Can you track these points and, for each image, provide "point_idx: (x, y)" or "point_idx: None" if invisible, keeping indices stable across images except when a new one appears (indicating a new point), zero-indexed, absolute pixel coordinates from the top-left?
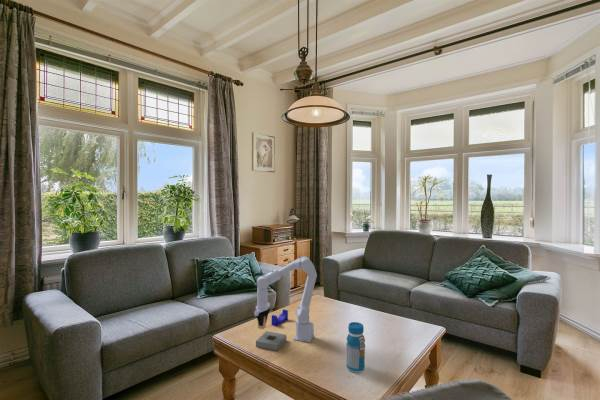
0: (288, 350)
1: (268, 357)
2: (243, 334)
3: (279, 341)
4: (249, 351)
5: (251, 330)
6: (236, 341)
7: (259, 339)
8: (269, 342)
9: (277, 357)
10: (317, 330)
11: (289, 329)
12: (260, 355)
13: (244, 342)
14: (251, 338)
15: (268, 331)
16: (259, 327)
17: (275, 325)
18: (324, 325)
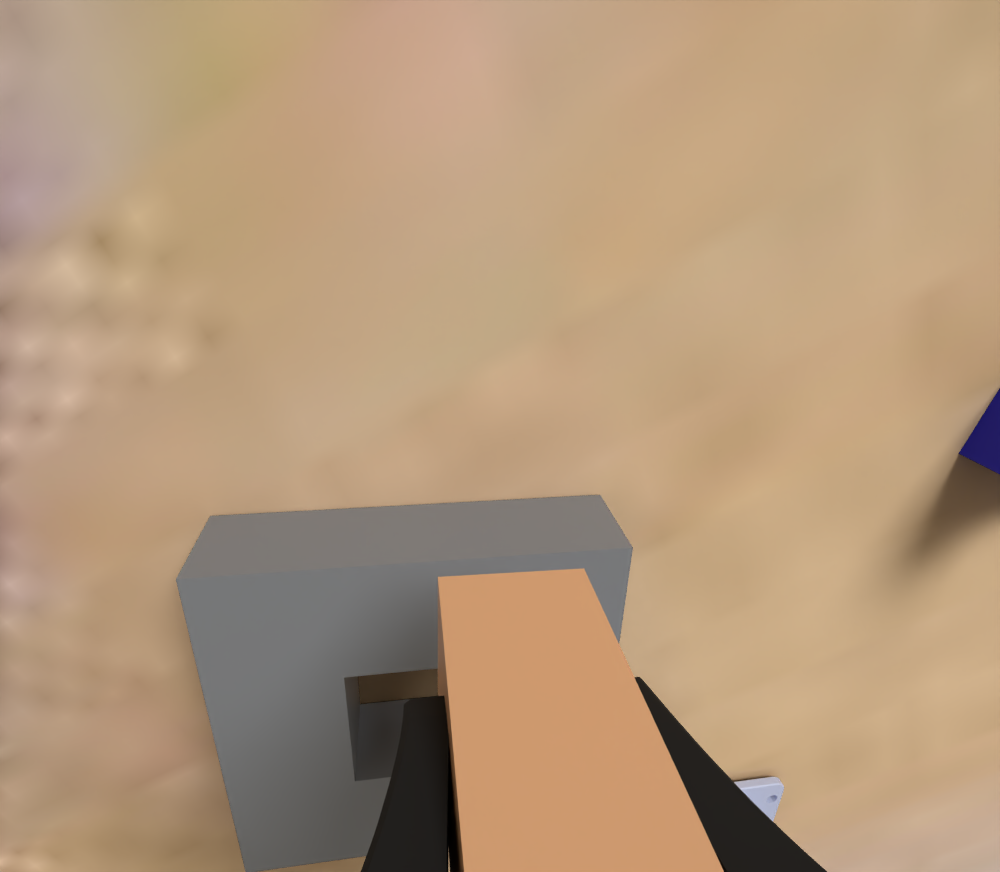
0: (349, 860)
1: (57, 786)
2: (546, 6)
3: (366, 848)
4: (4, 505)
5: (767, 102)
6: (167, 19)
7: (266, 605)
8: (261, 772)
9: (132, 852)
10: (866, 867)
11: (869, 655)
12: (25, 692)
13: (231, 240)
14: (443, 291)
15: (626, 583)
16: (439, 634)
17: (974, 460)
18: (979, 867)
